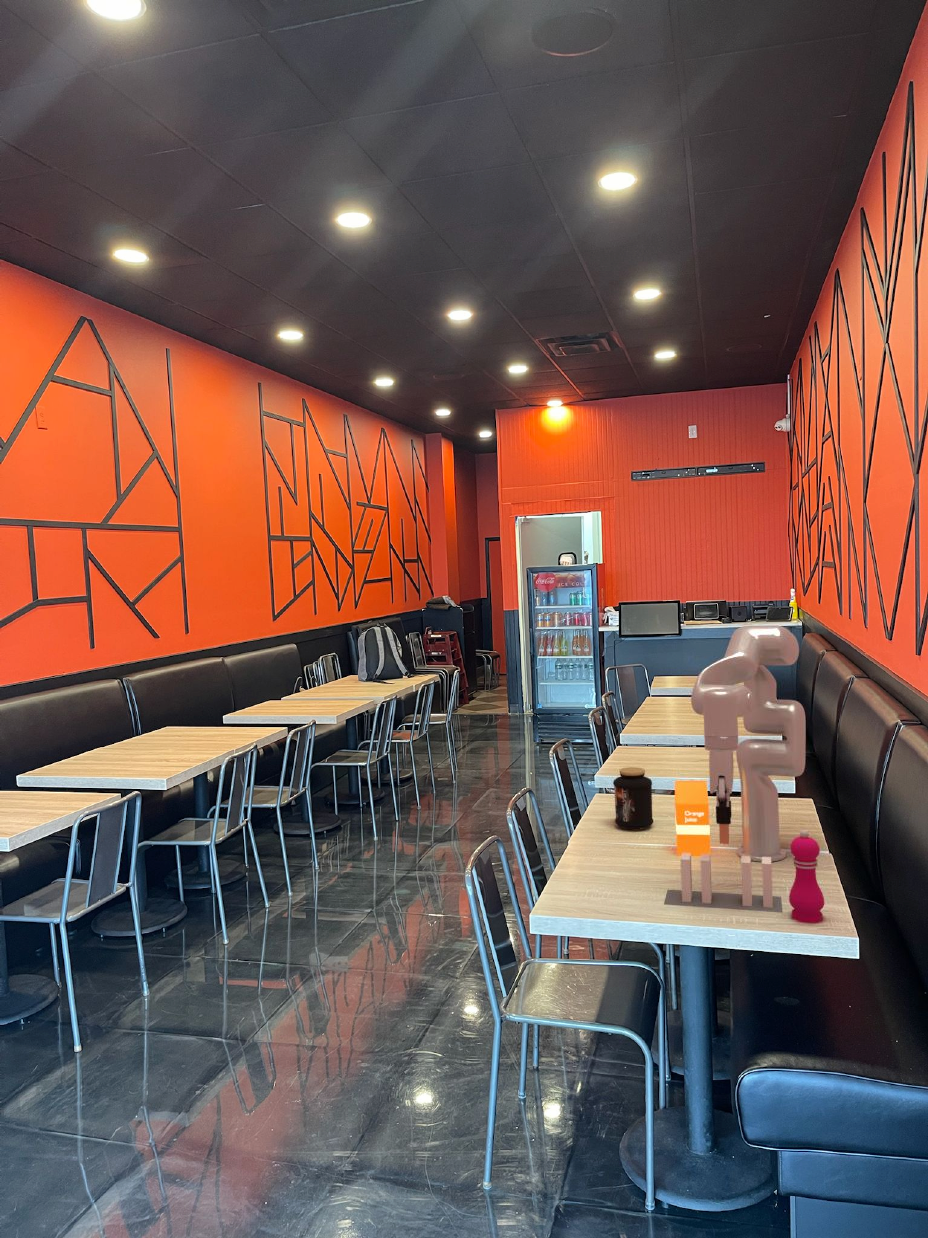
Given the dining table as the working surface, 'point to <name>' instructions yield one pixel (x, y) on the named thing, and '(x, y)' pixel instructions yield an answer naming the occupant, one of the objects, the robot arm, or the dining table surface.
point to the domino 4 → (746, 880)
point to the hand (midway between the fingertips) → (724, 819)
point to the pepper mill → (806, 880)
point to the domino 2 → (706, 878)
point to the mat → (723, 901)
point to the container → (633, 799)
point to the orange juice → (692, 817)
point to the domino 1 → (686, 877)
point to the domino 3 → (724, 833)
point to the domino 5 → (767, 882)
